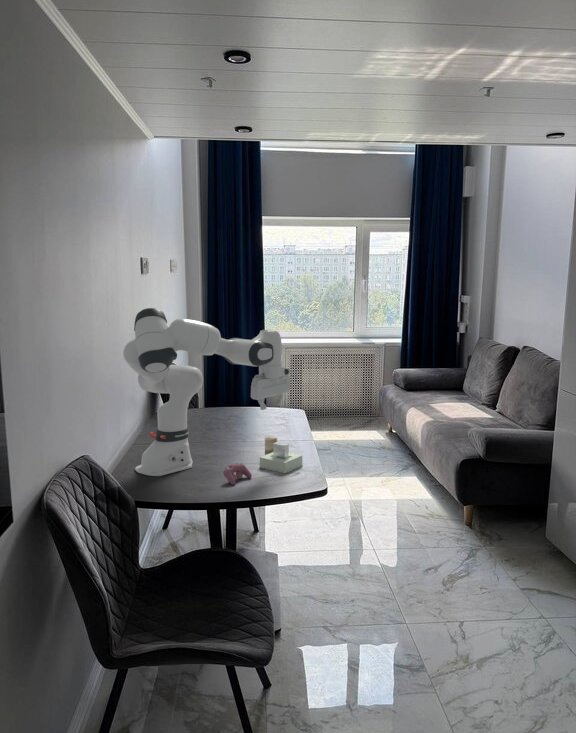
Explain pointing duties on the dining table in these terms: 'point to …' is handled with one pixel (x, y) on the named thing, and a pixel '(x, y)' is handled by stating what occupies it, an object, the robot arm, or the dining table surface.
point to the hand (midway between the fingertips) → (271, 407)
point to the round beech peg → (269, 444)
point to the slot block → (281, 462)
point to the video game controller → (239, 470)
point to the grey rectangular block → (281, 450)
